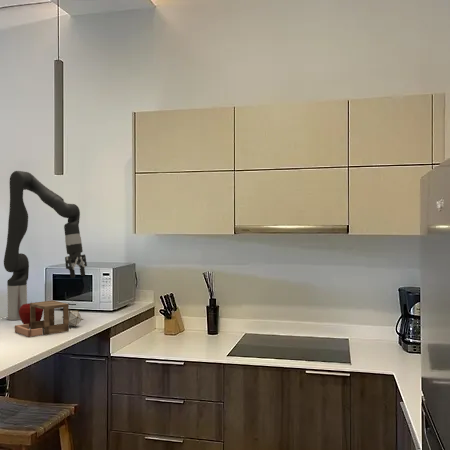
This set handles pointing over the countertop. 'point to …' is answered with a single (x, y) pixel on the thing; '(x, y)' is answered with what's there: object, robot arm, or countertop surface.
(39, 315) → the apple
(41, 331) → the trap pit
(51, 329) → the tunnel
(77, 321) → the game die
